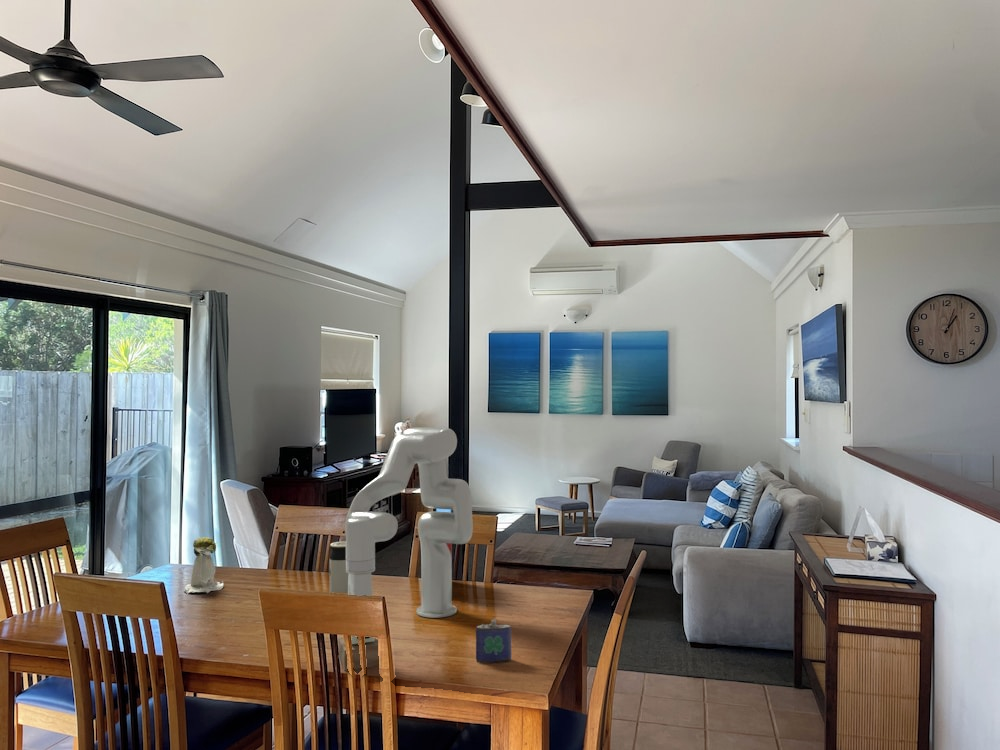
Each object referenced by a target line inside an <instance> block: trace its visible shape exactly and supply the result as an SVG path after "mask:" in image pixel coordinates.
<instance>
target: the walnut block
mask: <svg viewBox="0 0 1000 750" xmlns="http://www.w3.org/2000/svg"><path fill="white" fill-rule="evenodd" d="M344 638H345V637H338V640H337V641H338V643H337V645H338V644H339V655H338V659H340V660H339V661H340V663H341V665H342V668H343V670H344V671H348V670H347V654H346V647H345V642H344ZM365 645H366V659H367V668H373V667H380V666H379V656H378V640H377V639H376V638H375V641H373V642H365ZM352 653H353V663H354V669H353V670H359V669H362V668H361V665H360V654H359V645H358V644H352Z"/></svg>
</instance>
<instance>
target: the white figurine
mask: <svg viewBox="0 0 1000 750" xmlns="http://www.w3.org/2000/svg"><path fill="white" fill-rule="evenodd" d="M217 543H218V542H215V541H214V539H213V538H212V537H209V536H207V537H202V536H201V537H199V538H196V539H195V540H194V541H193V543H192V546H193V553H194V555H195V556H196V557H195V558H194V562H193V567H192V573H191V579H190V583H189V584H186V585H185V586H184V590H183V591H184V592H185V593H186V594H187V595H188V594H190V593H206V594H208V593H210V592H211V591H214V592H215V591H220V590H222V589H223V588H224V581H223V580H222V581H217V580H215V579H214V577H215V573H216V566H215V563H214V560H213V557H212V555H211V554H214V553H216V551H217Z"/></svg>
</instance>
